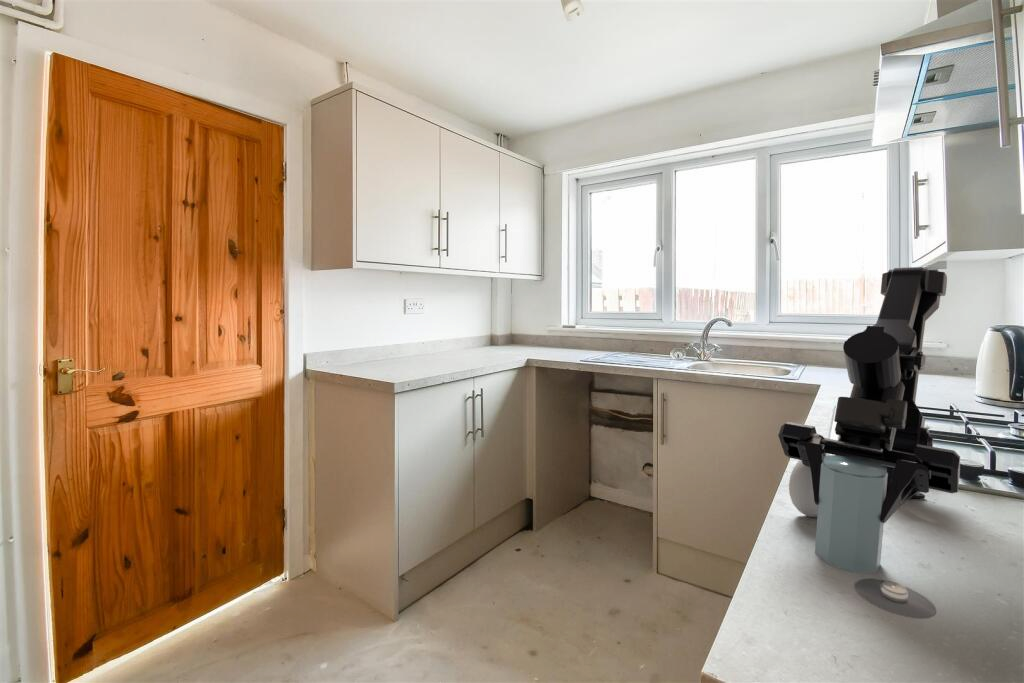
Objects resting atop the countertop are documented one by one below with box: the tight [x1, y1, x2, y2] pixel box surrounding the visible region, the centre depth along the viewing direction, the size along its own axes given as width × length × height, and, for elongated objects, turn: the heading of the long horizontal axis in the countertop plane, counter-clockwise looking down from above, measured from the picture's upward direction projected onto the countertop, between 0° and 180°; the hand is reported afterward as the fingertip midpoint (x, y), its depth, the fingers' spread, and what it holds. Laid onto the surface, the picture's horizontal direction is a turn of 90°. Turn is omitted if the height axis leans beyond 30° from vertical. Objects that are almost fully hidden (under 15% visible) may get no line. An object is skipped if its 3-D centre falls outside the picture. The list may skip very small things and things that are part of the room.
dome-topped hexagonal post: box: [814, 454, 888, 574], centre depth 60 cm, size 6×6×13 cm
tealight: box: [880, 580, 908, 604], centre depth 53 cm, size 2×2×1 cm
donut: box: [788, 453, 831, 518], centre depth 73 cm, size 10×3×10 cm, turn 112°
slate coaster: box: [854, 578, 937, 619], centre depth 53 cm, size 7×7×1 cm
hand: (848, 511), depth 59 cm, fingers closed on dome-topped hexagonal post, 6 cm apart
